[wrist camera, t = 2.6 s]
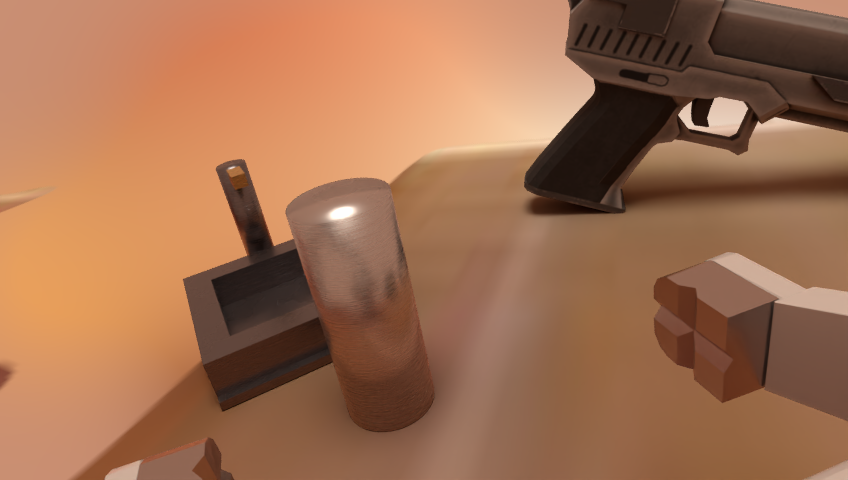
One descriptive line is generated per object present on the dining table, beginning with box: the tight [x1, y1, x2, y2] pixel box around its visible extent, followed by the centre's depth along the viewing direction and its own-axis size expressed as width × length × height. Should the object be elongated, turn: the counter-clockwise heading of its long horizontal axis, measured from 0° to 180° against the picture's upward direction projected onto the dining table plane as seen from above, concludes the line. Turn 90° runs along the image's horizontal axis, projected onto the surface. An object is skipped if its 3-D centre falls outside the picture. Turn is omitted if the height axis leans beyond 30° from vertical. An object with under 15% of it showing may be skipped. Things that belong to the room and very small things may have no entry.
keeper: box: [183, 159, 333, 411], centre depth 32 cm, size 10×13×8 cm
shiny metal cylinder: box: [286, 178, 434, 432], centre depth 23 cm, size 4×4×10 cm
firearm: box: [524, 0, 848, 213], centre depth 34 cm, size 4×33×15 cm, turn 77°
